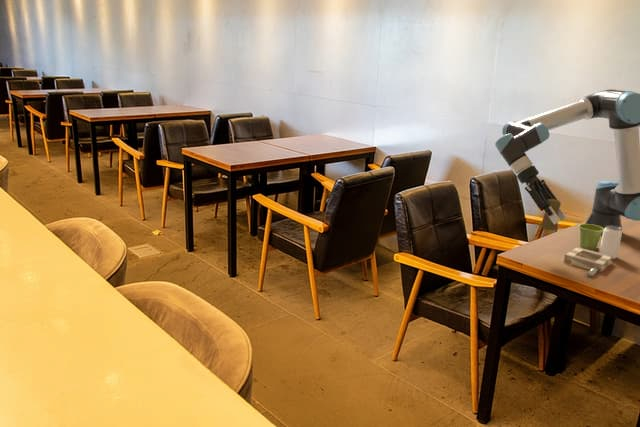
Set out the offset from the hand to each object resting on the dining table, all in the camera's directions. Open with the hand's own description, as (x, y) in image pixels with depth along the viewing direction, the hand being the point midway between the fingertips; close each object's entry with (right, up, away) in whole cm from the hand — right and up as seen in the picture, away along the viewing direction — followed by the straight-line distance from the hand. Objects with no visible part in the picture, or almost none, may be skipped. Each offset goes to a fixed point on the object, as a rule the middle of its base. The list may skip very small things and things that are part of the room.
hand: (560, 220), depth 201 cm
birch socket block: (+11, -16, +3) cm, 20 cm away
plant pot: (+20, -11, +20) cm, 31 cm away
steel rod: (+9, -19, -7) cm, 22 cm away
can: (+23, -14, +11) cm, 29 cm away
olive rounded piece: (-3, -3, +4) cm, 5 cm away
